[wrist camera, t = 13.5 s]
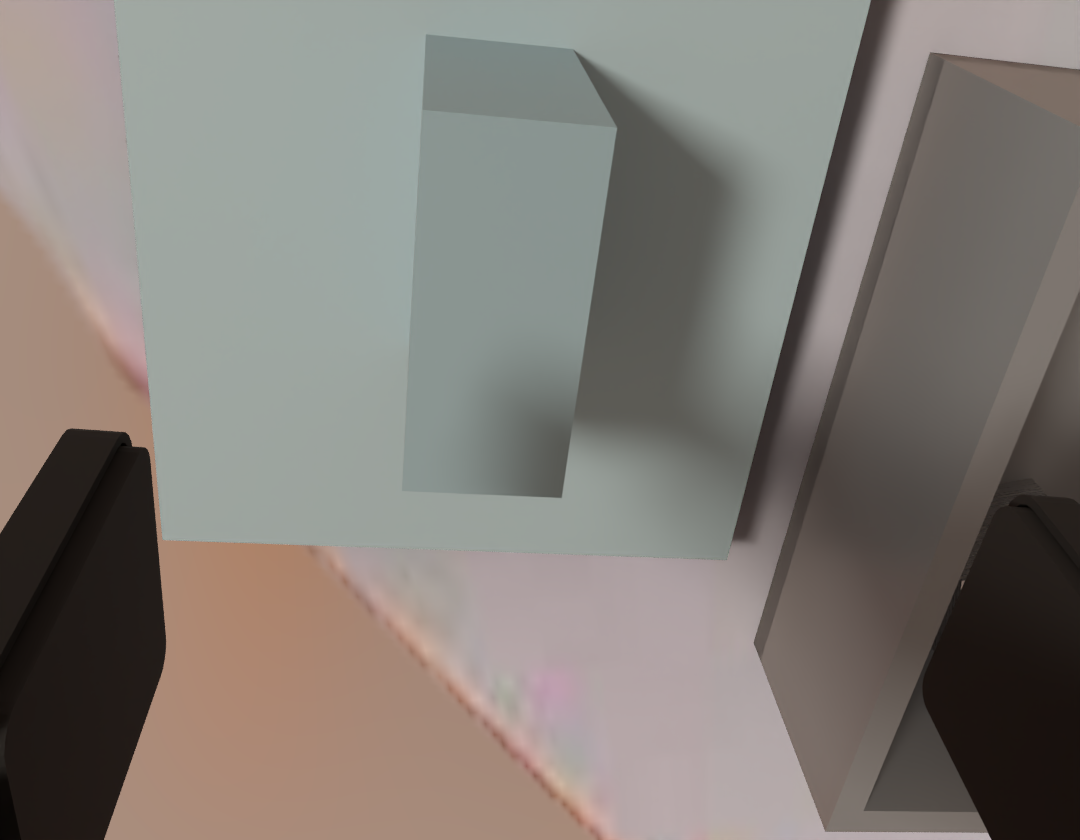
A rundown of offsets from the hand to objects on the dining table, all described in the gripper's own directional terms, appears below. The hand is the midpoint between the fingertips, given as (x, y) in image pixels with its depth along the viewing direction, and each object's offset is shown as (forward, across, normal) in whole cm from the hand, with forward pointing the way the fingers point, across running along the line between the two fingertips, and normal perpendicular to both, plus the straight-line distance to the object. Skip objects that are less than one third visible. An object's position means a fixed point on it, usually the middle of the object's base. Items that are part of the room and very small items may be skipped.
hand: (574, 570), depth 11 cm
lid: (+15, +1, +1) cm, 15 cm away
